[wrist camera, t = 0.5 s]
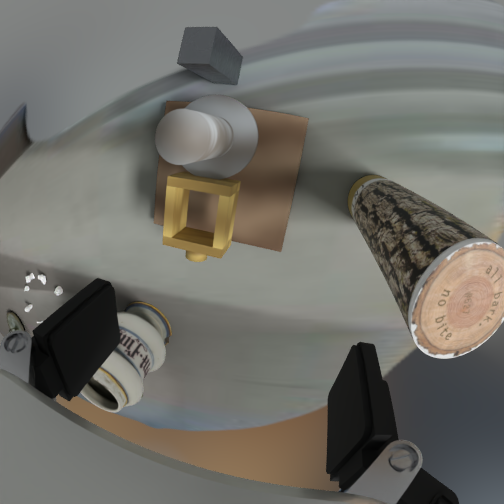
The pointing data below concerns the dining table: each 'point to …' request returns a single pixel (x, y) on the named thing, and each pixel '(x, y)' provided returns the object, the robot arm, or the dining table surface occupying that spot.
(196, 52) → the grey rectangular bar
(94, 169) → the dining table surface
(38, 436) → the robot arm
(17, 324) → the lid
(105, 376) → the apothecary jar
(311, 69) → the dining table surface
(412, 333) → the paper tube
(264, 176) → the board
